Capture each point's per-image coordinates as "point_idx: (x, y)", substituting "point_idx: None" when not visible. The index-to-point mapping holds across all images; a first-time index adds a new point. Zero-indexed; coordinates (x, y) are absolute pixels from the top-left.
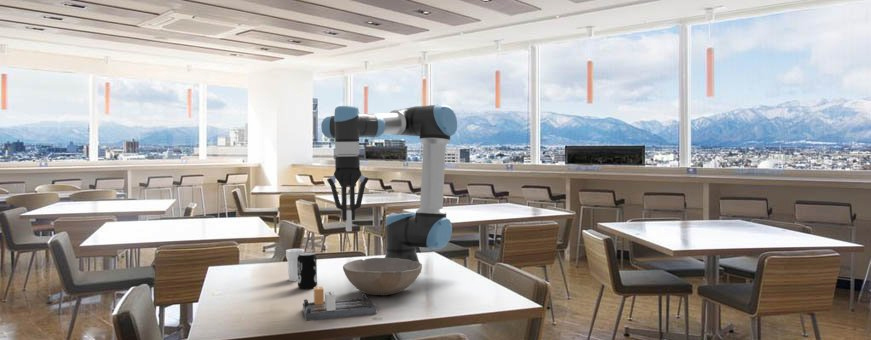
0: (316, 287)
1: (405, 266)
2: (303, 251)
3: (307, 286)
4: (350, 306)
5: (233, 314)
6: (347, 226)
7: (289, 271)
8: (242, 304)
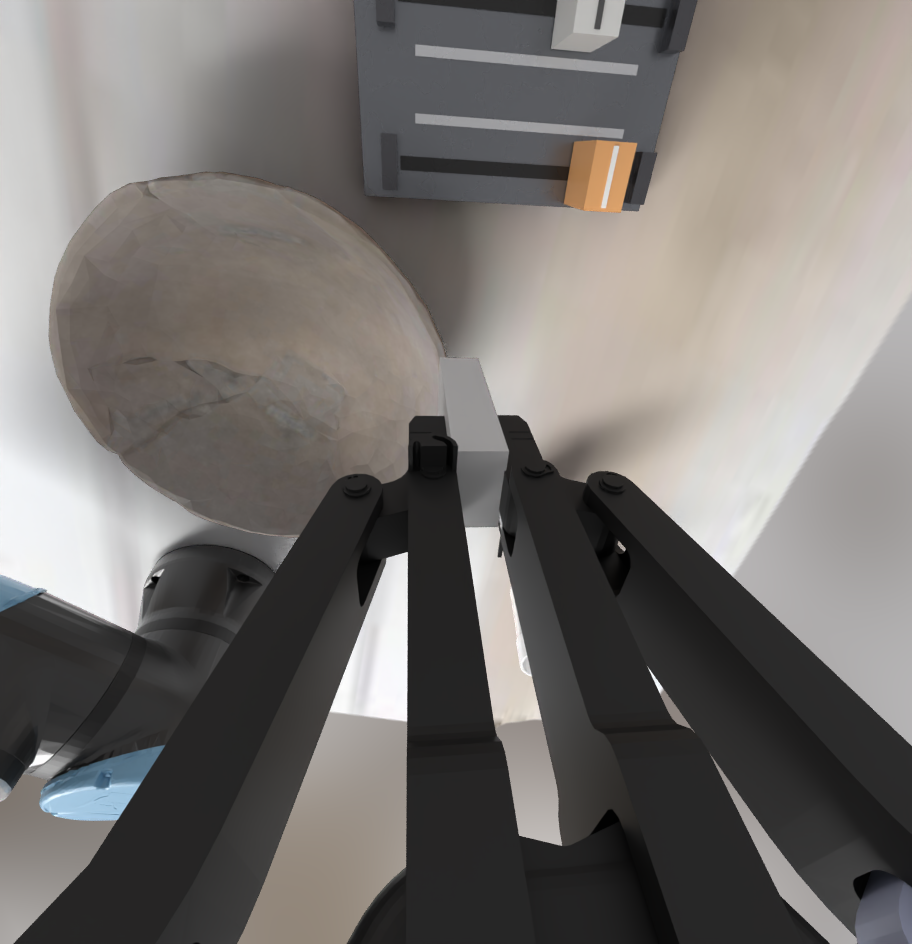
0: (612, 198)
1: (167, 456)
2: (524, 652)
3: None
4: (474, 31)
5: (841, 251)
6: (479, 376)
7: None
8: (756, 374)
